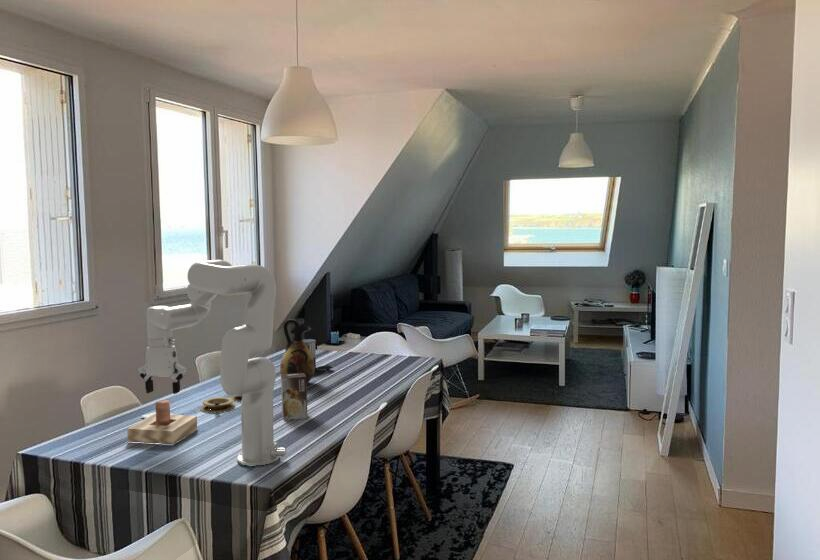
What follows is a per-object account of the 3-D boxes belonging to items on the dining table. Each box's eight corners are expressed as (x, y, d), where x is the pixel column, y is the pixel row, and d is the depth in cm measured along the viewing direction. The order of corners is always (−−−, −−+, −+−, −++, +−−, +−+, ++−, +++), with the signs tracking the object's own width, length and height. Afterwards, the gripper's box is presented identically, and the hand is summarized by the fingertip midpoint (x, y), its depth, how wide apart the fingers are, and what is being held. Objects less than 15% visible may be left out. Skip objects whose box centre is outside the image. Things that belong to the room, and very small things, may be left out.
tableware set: (224, 418, 229) (223, 403, 228) (186, 410, 238) (186, 396, 237) (275, 398, 255) (275, 384, 254) (240, 392, 264) (240, 379, 263)
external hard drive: (161, 425, 219) (141, 419, 226) (181, 419, 226) (160, 414, 233) (161, 421, 219) (141, 415, 226) (180, 415, 226) (160, 409, 233)
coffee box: (306, 413, 232) (305, 372, 230) (307, 418, 226) (307, 376, 224) (281, 415, 229) (280, 374, 228) (282, 420, 223) (281, 378, 222)
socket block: (197, 429, 213) (196, 415, 213) (172, 446, 198) (172, 431, 197) (155, 427, 216) (154, 413, 215) (127, 443, 200) (127, 428, 200)
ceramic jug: (318, 381, 280) (318, 316, 277) (310, 390, 265) (309, 322, 262) (283, 380, 282) (281, 316, 279) (272, 389, 266) (270, 321, 264)
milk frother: (295, 368, 304) (295, 339, 303) (326, 365, 310) (326, 337, 309) (302, 375, 291) (301, 344, 289) (333, 372, 297) (333, 342, 295)
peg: (173, 434, 209) (172, 400, 207) (166, 439, 204) (165, 404, 203) (161, 433, 209) (160, 399, 208) (154, 438, 205) (152, 403, 204)
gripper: (190, 340, 206) (192, 390, 207) (143, 340, 209) (146, 389, 210) (178, 345, 199) (180, 396, 200) (130, 344, 201) (133, 395, 203)
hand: (163, 392), depth 205 cm, fingers open, 9 cm apart
